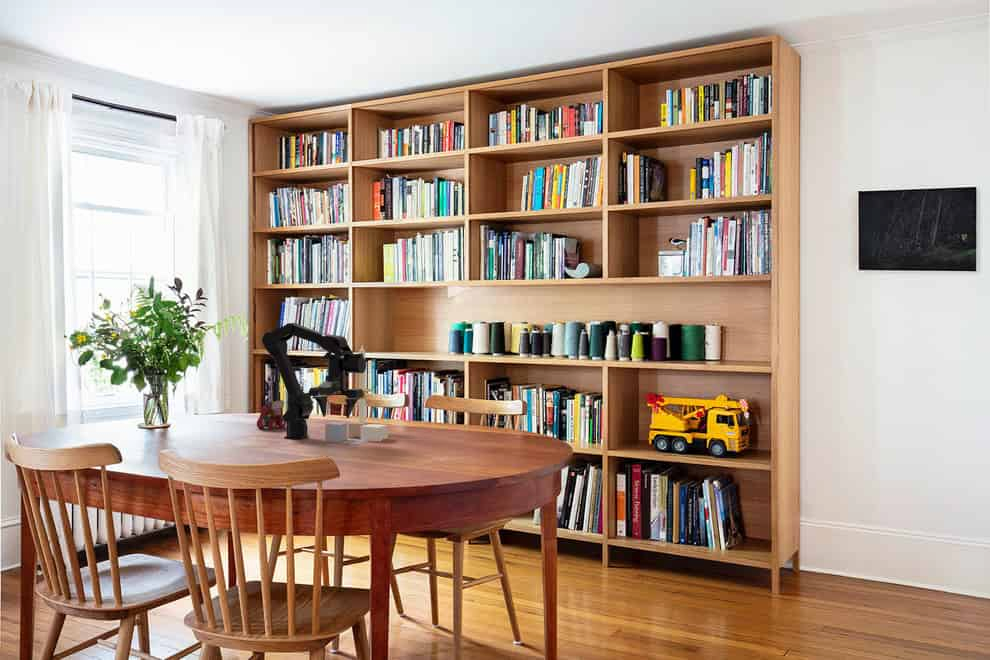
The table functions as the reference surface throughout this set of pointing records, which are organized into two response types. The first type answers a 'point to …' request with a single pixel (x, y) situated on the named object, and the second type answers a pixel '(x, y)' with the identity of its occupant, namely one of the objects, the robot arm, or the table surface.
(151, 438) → the table surface
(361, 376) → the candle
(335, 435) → the grey block
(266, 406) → the toy fire truck
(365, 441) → the tile
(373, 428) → the cream block
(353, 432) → the terracotta block
